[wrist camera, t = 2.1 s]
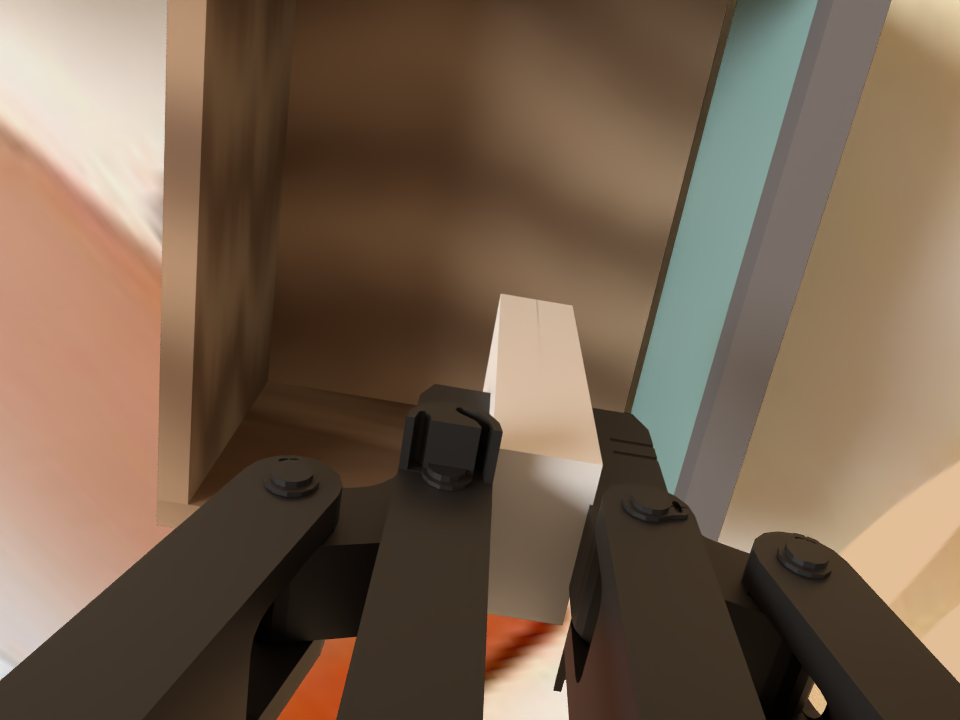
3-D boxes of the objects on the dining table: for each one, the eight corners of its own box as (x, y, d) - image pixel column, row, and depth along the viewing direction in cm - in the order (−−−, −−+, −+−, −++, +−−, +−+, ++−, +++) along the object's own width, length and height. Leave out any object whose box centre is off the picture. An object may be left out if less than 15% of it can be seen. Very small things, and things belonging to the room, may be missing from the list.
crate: (609, 446, 39) (646, 601, 29) (250, 388, 38) (156, 525, 28) (737, -59, 31) (851, -95, 21) (284, -142, 30) (172, -220, 20)
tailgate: (647, 462, 38) (694, 612, 28) (617, 457, 38) (653, 605, 28) (788, -54, 30) (918, -84, 20) (749, -60, 30) (862, -94, 20)
